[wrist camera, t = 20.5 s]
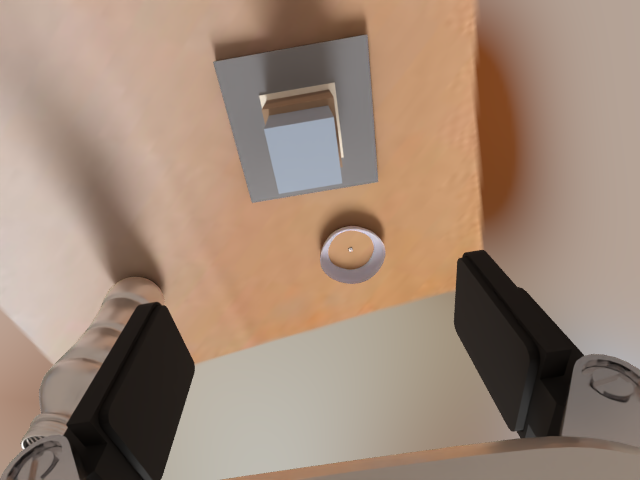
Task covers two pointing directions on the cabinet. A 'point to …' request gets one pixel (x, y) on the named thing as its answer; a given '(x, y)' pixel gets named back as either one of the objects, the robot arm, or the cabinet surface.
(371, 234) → the lavender ring
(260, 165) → the building board
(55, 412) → the plastic bottle
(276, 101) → the walnut block
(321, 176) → the slate blue cube
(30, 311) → the cabinet surface
